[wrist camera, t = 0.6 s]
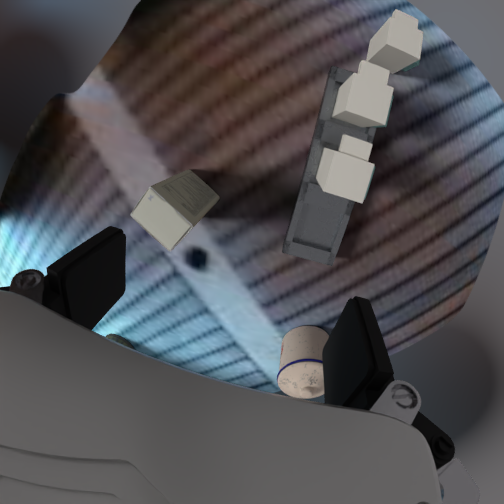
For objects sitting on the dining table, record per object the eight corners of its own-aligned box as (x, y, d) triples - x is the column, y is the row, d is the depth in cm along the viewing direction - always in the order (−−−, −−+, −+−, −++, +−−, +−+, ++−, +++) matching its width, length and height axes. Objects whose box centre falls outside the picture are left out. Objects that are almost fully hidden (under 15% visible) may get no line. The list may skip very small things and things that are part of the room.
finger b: (327, 133, 30) (339, 132, 22) (363, 145, 30) (387, 149, 22) (315, 177, 33) (323, 191, 25) (351, 188, 33) (369, 206, 24)
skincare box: (171, 190, 38) (126, 213, 27) (189, 167, 36) (147, 183, 25) (203, 219, 39) (169, 254, 28) (223, 198, 38) (193, 226, 27)
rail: (328, 71, 29) (332, 65, 26) (379, 88, 28) (386, 84, 26) (283, 244, 39) (282, 252, 36) (329, 256, 39) (332, 265, 36)
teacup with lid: (270, 335, 46) (263, 387, 36) (318, 315, 43) (323, 367, 33) (302, 375, 49) (300, 424, 39) (345, 359, 46) (352, 408, 36)
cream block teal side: (341, 75, 27) (357, 56, 19) (377, 88, 27) (404, 75, 19) (331, 117, 29) (345, 110, 21) (368, 129, 29) (392, 128, 21)
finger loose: (372, 30, 25) (391, 5, 17) (403, 43, 25) (430, 24, 16) (365, 63, 27) (386, 43, 19) (398, 76, 27) (426, 62, 19)
